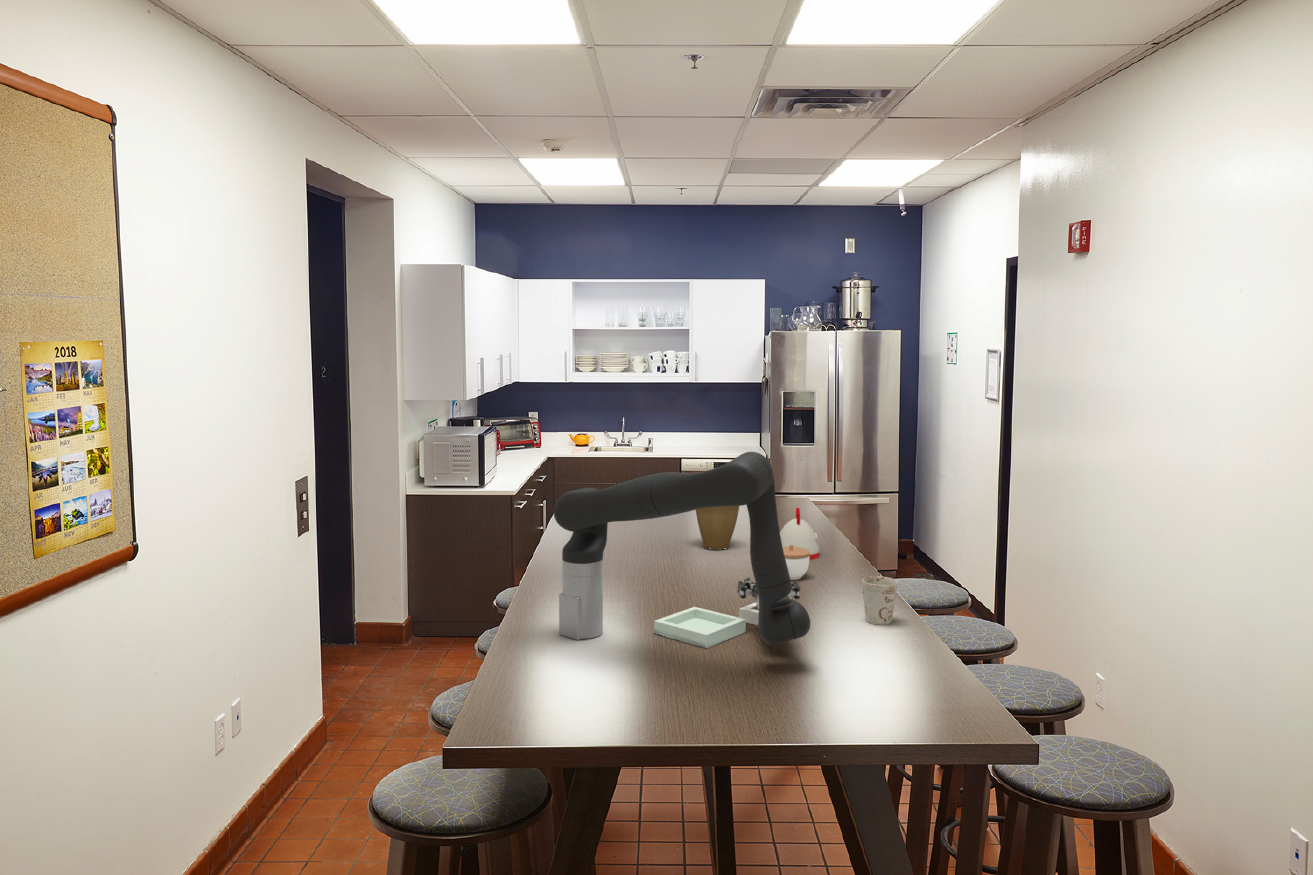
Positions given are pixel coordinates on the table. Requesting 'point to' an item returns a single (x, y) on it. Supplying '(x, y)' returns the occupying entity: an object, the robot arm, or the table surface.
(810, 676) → the table surface
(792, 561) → the lidded jar
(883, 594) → the mug
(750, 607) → the holder block
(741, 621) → the tray
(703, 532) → the plant pot
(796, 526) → the chicken shaped dome
